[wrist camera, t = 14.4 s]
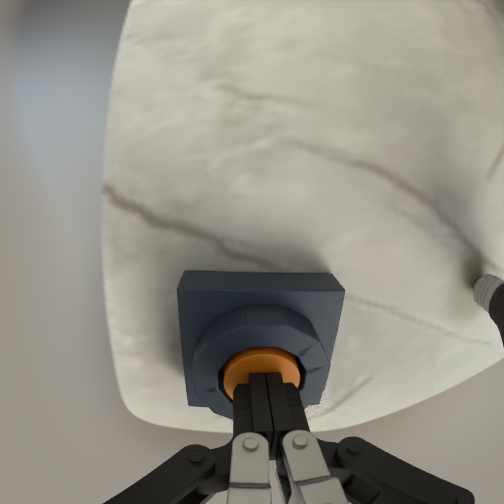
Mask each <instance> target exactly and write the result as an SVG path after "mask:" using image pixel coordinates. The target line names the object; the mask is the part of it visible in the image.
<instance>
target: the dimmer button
mask: <svg viewBox="0 0 504 504" xmlns="http://www.w3.org/2000/svg"><path fill="white" fill-rule="evenodd" d="M269 372H281V374H282V378H283V383H287V382H292V383H293V384H294V385H295V386H296V387H297V388H298V385H299V382H300V373H299V370H298V366H297V363H296V359H295V356H294V354H292V353H290V352H288V351H285V350H283V349H281V348H279V347H251V348H248V349H246V350H244V351H242V352H239V353H237V354H235V355H232V356H230V357H229V358H228V359H227V361H226V362H225V363H224V388H225V390H226V392H227V394H228V395H229V396H230V397H231V398H232V399H233V390H234V389H235V387H236V385H237V384H238V383H240V384H248V374H249V373H269Z"/></svg>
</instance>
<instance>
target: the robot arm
mask: <svg viewBox="0 0 504 504" xmlns="http://www.w3.org/2000/svg"><path fill="white" fill-rule="evenodd" d="M269 459H270V460H276V466H277V468H276V478H277V482H278V486H279V490H280V494H281V499H282V502H283V504H349V503H348V502H350V503H352V504H474V503H475V499H474V496H473V494H472V493H471V492H470V491H469V490H467V489H464V488H462V487H460V486H457V485H455V484H452V483H450V482H447V481H445V480H443V479H441V478H438V477H436V476H434V475H432V474H430V473H427V472H425V471H423V470H421V469H419V468H417V467H414V466H413V465H411V464H409V463H407V462H405V461H403V460H401V459H398V458H397V457H395V456H393V455H391V454H389V453H387V452H385V451H383V450H382V449H380V448H378V447H376V446H374V445H373V444H371V443H369V442H367V441H365V440H364V439H362V438H359V437H347V438H344V439H343V440H341V441H340V442H339V443H334V442H326V441H322V440H320V439H318V438H316V437H315V436H314V435H313V434H312V433H311V432H310V429H309V426H308V422H307V418H306V415H305V411H304V407H303V404H302V400H301V396H300V393H299V389H298V388H297V387H296V386H295V385H294V384H293V383H292V382H287V383H283V378H282V374H281V372H269V373H249V374H248V384H240V383H238V384H237V385H236V387H235V389H234V390H233V438H232V439H231V441H230V442H229V443H228V444H226V445H224V446H222V447H219V448H215V449H209V448H207V447H205V446H202V445H189V446H186V447H184V448H183V449H181V450H180V451H179V452H177V453H176V454H175V455H173V456H172V457H171V458H169V459H168V460H167V461H166V462H164V463H163V464H161V465H160V466H159V467H157V468H156V469H154V470H153V471H152V472H151V473H149V474H148V475H146V476H145V477H143V478H142V479H140V480H139V481H137V482H136V483H134V484H133V485H131V486H130V487H128V488H127V489H125V490H124V491H122V492H121V493H119V494H118V495H116V496H114V497H113V498H111V499H110V500H108V501H106V502H105V503H103V504H205V503H206V502H207V501H208V500H210V499H211V498H212V497H213V496H214V495H215V494H216V493H217V492H221V491H225V490H228V495H227V504H272V493H271V486H270V483H269V482H270V481H269Z"/></svg>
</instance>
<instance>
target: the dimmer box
mask: <svg viewBox="0 0 504 504" xmlns="http://www.w3.org/2000/svg"><path fill="white" fill-rule="evenodd" d="M344 294H345V289H344V288H343V287H342V285H341V284H340V283H339V282H338V280H337V279H336V278H335V277H334V275H333V274H301V273H244V272H206V271H184V273H183V275H182V278H181V280H180V283H179V285H178V287H177V296H178V311H179V324H180V336H181V347H182V357H183V366H184V375H185V383H186V391H187V399H188V405H189V406H196V407H209V408H210V409H211V410H212V411H213V412H214V413H216V414H219V415H221V416H224V417H227V418H230V419H232V420H233V399H232V398H231V397H230V396H229V395H228V394H227V392H226V390H225V388H224V363H225V362H226V361H227V359H228V358H229V357H230V356H232V355H235V354H237V353H239V352H242V351H244V350H246V349H248V348H251V347H279V348H281V349H283V350H285V351H288V352H290V353H292V354H294V356H295V359H296V363H297V366H298V370H299V373H300V382H299V385H298V389H299V393H300V396H301V400H302V404H303V407H304V409H305V408H306V407H307V406H308V405H317V404H319V403H320V399H321V396H322V392H323V390H324V389H325V385H326V381H327V377H328V374H329V370H330V366H331V365H330V361H331V357H332V352H333V348H334V344H335V339H336V335H337V330H338V325H339V320H340V315H341V310H342V305H343V300H344Z"/></svg>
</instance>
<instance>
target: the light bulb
mask: <svg viewBox="0 0 504 504" xmlns="http://www.w3.org/2000/svg"><path fill="white" fill-rule="evenodd" d="M474 301H475V302H476V303H477V304H478V305H479V306H480V307H481V308H483V309H484V310H485V311H487V312H488V313H489V315H490V317H491V319H492V320H493V321H494V322H495V324H496V325H497V327H498V329H499V331H500V335H501V338H502V342H503V346H504V281H503V280H501V279H500V278H498V277H496V276H493V275H491V274H485V275H483V276H482V277H481V278H480V279H478V280H477V281H476V283H475V285H474Z"/></svg>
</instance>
